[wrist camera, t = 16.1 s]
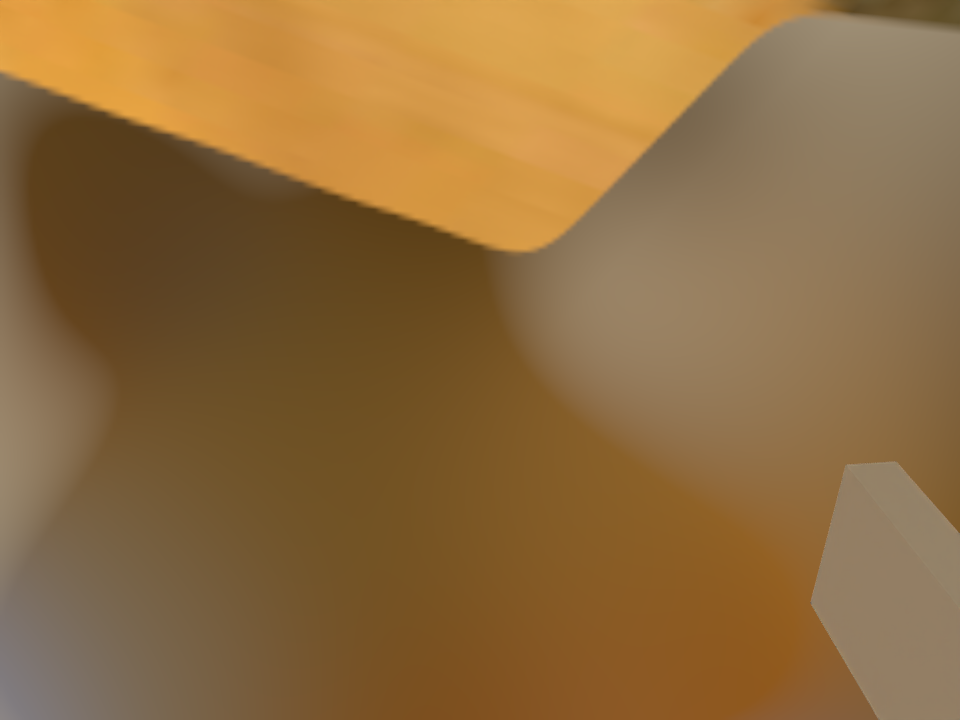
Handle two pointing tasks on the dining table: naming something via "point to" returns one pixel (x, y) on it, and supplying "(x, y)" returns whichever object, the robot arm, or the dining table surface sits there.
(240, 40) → the dining table surface
